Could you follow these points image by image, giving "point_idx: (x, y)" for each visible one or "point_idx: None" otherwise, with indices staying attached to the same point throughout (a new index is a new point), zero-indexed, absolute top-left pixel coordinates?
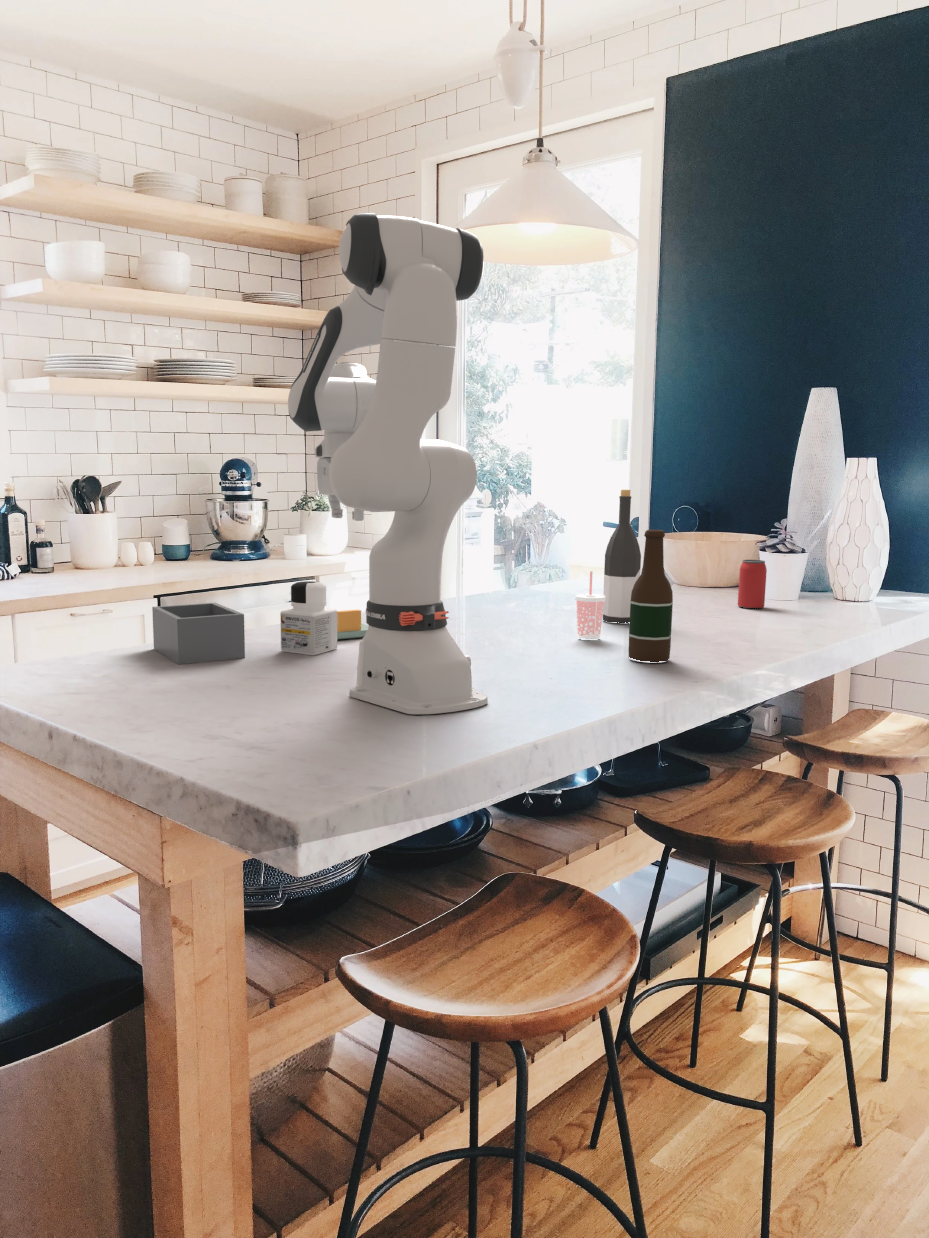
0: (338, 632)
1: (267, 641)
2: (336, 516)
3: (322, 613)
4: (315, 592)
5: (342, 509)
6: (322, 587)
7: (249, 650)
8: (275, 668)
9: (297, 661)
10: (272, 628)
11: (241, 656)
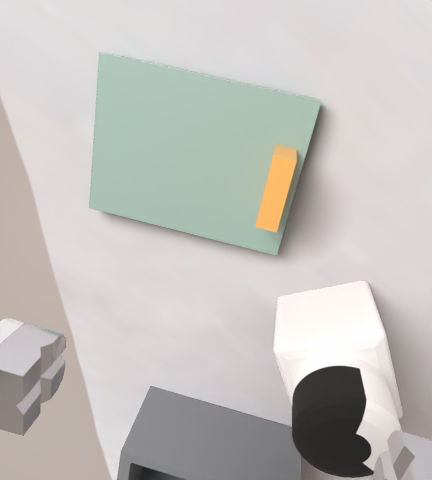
0: (284, 218)
1: (189, 319)
2: (58, 379)
3: (396, 387)
4: None
5: (24, 378)
6: None
7: (247, 389)
8: None
9: None
10: (58, 223)
11: None
